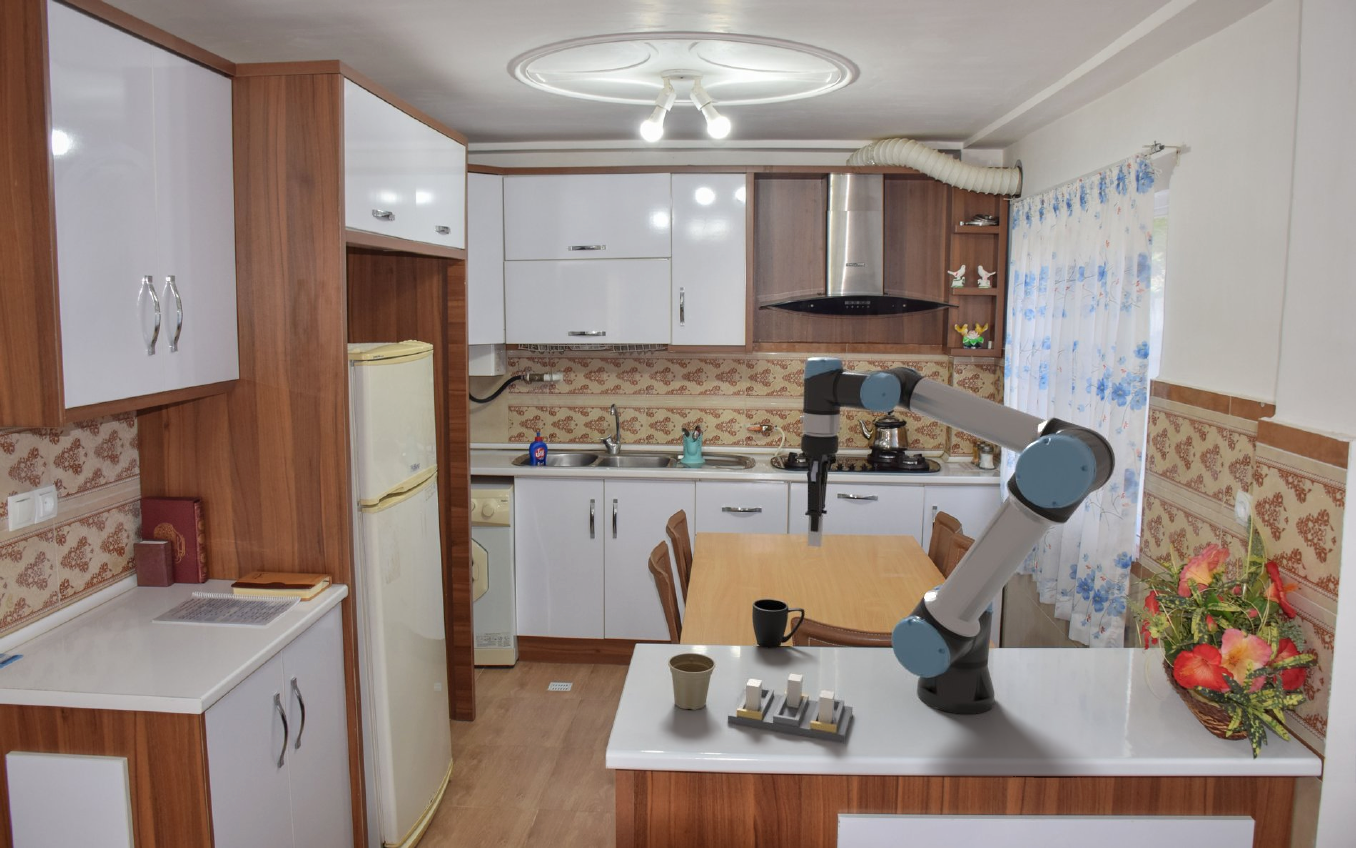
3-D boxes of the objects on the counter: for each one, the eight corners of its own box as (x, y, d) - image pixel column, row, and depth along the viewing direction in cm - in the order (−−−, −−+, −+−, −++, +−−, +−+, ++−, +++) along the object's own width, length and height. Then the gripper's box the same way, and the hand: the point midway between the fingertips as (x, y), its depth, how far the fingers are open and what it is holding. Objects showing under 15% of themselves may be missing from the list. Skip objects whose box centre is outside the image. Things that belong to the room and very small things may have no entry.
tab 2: (801, 701, 179) (802, 675, 178) (798, 708, 176) (800, 681, 175) (789, 699, 180) (790, 673, 179) (786, 706, 177) (787, 679, 176)
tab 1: (760, 707, 176) (762, 680, 175) (757, 714, 173) (758, 686, 172) (748, 705, 177) (749, 678, 176) (745, 711, 174) (746, 684, 173)
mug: (803, 653, 207) (805, 613, 205) (750, 649, 208) (752, 609, 206) (802, 639, 215) (804, 600, 213) (751, 636, 216) (753, 597, 214)
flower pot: (721, 699, 183) (722, 658, 181) (702, 718, 174) (704, 676, 173) (679, 689, 187) (680, 649, 185) (658, 708, 178) (659, 666, 177)
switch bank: (852, 714, 178) (852, 701, 177) (843, 743, 166) (844, 729, 166) (742, 696, 184) (743, 683, 184) (727, 722, 173) (728, 709, 172)
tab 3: (833, 719, 172) (834, 692, 171) (830, 726, 169) (832, 698, 168) (820, 717, 173) (822, 690, 172) (818, 724, 170) (819, 696, 169)
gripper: (807, 427, 192) (802, 535, 196) (795, 436, 180) (790, 551, 184) (843, 430, 190) (837, 539, 194) (833, 439, 178) (827, 556, 181)
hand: (814, 545), depth 189 cm, fingers closed
